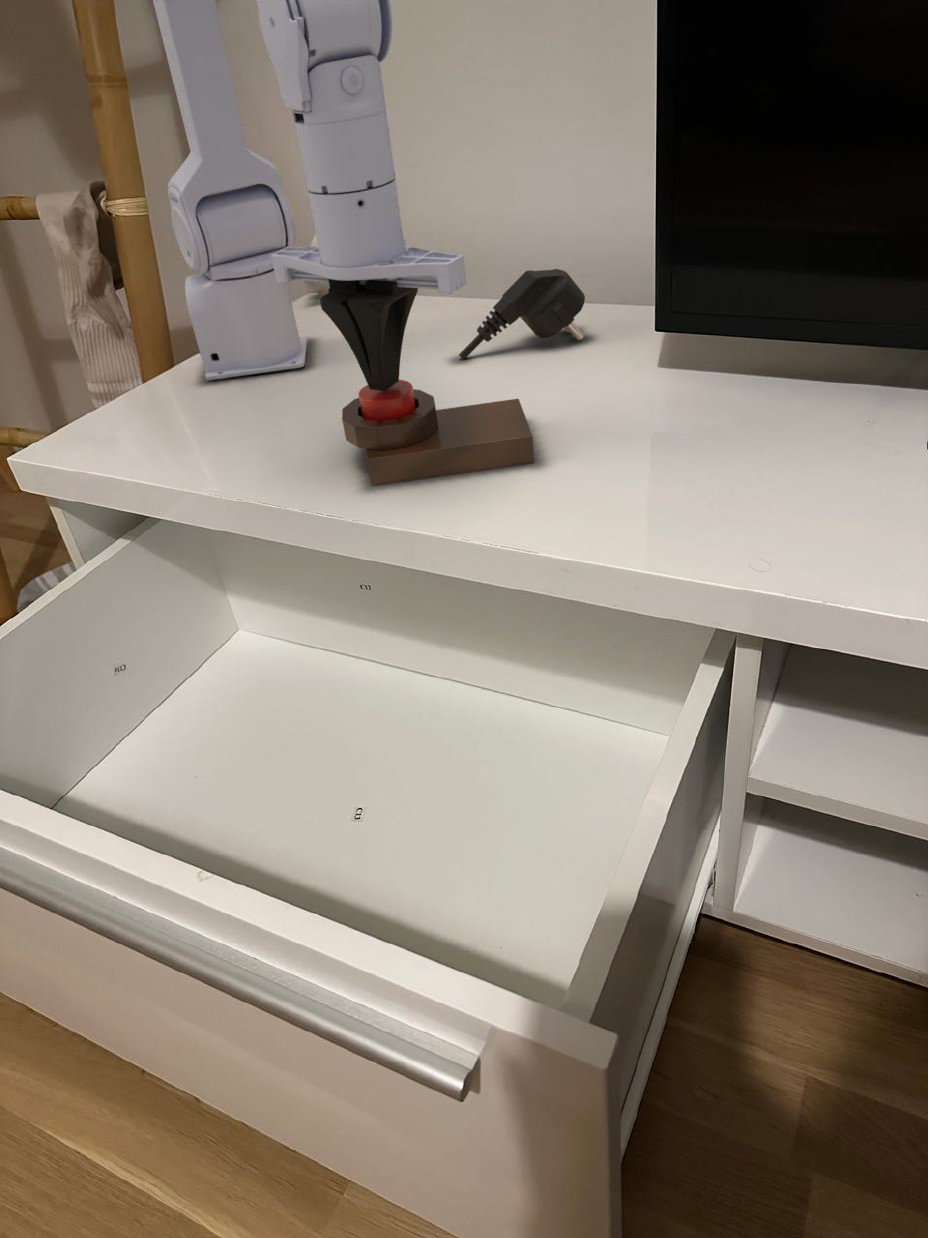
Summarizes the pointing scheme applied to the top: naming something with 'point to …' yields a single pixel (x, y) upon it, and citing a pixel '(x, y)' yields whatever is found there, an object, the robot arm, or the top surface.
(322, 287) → the rubber duck
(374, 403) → the light button
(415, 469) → the switch box
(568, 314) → the power plug
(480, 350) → the top surface
